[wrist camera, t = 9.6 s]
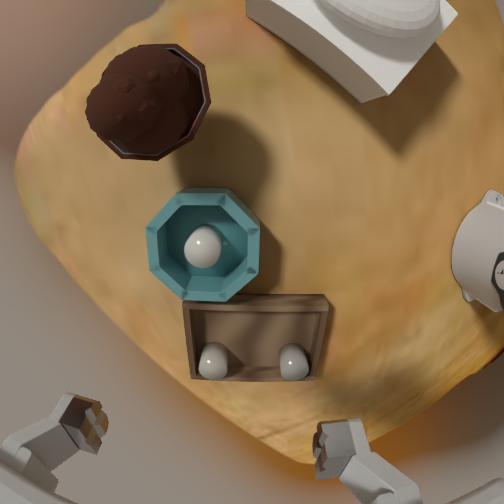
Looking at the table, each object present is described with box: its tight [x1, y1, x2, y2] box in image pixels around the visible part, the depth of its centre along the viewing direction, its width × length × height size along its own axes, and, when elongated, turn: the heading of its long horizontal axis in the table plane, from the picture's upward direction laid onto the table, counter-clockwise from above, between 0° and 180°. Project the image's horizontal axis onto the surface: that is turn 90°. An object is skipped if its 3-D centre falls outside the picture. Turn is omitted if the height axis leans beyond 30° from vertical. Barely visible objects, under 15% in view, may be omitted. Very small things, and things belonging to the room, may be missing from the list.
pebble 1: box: [184, 224, 223, 268], centre depth 32 cm, size 4×4×4 cm
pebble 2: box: [199, 342, 229, 380], centre depth 38 cm, size 4×4×4 cm
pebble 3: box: [279, 343, 309, 381], centre depth 38 cm, size 4×4×4 cm
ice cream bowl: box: [85, 44, 211, 161], centre depth 23 cm, size 11×11×15 cm
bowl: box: [146, 187, 260, 302], centre depth 32 cm, size 12×12×5 cm
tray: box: [182, 293, 329, 382], centre depth 38 cm, size 18×13×3 cm
